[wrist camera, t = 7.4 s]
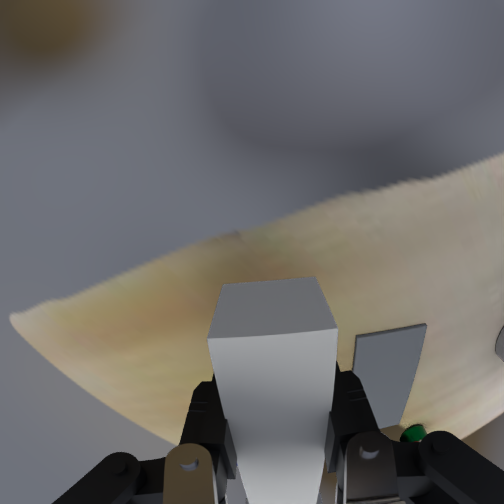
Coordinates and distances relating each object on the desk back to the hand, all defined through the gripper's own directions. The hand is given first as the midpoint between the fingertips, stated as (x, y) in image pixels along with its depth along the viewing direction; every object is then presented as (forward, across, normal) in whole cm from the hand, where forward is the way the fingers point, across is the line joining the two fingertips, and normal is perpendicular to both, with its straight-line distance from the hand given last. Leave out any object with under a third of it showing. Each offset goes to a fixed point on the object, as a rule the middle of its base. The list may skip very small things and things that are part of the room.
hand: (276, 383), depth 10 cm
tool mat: (+21, -15, +23) cm, 34 cm away
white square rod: (+1, 0, +4) cm, 4 cm away
